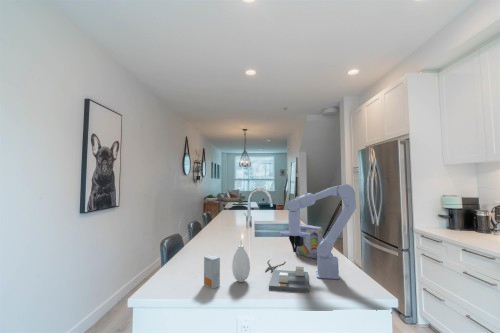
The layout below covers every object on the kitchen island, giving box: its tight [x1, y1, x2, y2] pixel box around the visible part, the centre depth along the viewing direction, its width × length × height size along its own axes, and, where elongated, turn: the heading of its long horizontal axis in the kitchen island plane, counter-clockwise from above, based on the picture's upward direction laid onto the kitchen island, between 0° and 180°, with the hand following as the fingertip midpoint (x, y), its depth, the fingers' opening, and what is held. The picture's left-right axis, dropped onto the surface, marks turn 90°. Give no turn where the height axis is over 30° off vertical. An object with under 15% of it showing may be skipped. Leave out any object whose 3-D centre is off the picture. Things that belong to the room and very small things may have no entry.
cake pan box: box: [294, 223, 324, 260], centre depth 152 cm, size 19×5×18 cm, turn 37°
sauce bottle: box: [231, 241, 251, 283], centre depth 113 cm, size 8×8×18 cm
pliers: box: [264, 259, 286, 274], centre depth 133 cm, size 10×1×20 cm
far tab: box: [295, 266, 305, 276], centre depth 116 cm, size 4×3×3 cm
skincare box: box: [203, 254, 221, 290], centre depth 108 cm, size 6×4×12 cm
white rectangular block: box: [279, 272, 288, 283], centre depth 108 cm, size 4×3×3 cm
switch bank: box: [268, 269, 310, 293], centre depth 112 cm, size 16×19×2 cm
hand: (294, 251), depth 125 cm, fingers closed
